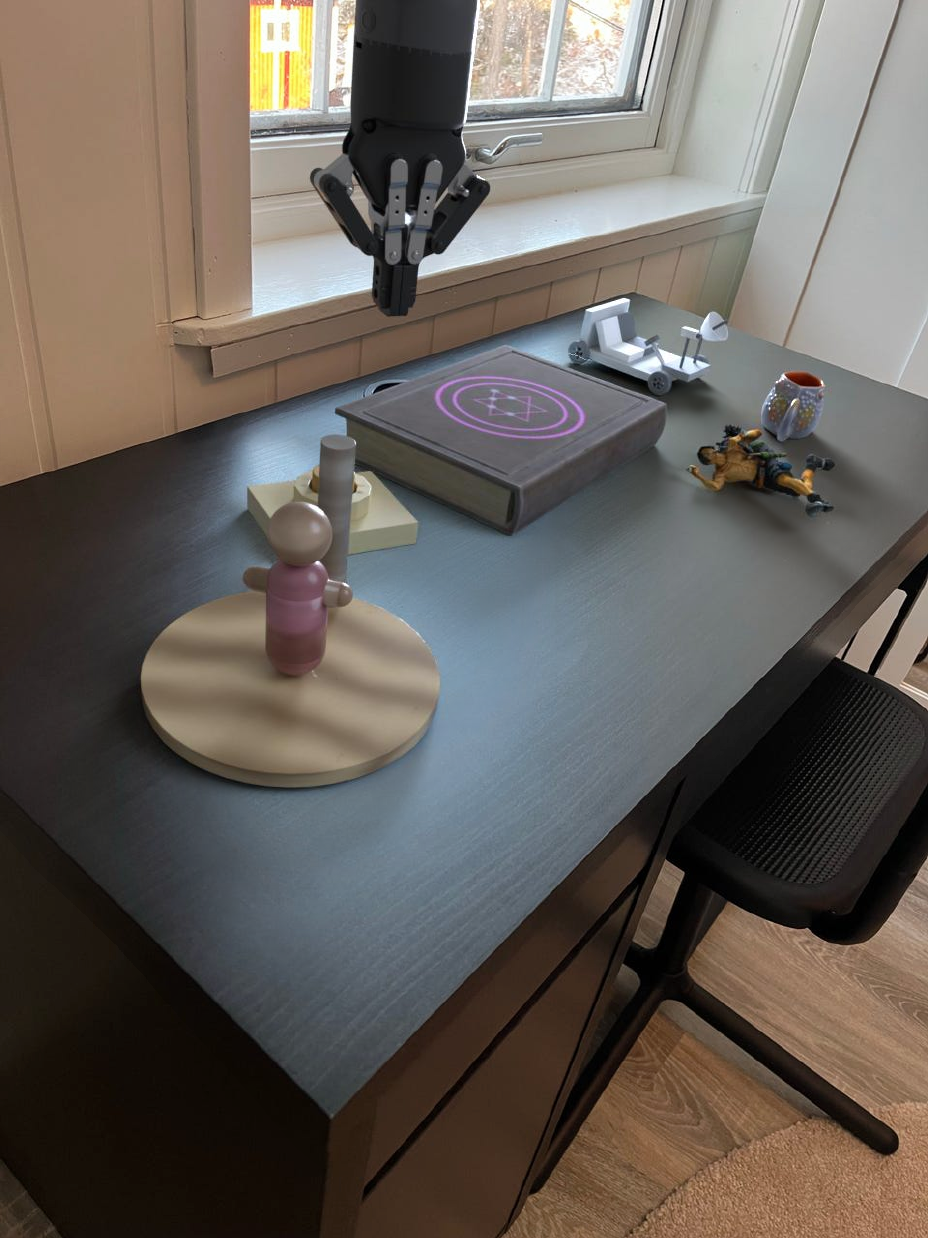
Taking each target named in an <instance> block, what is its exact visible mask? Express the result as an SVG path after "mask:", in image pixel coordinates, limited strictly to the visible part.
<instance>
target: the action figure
mask: <svg viewBox="0 0 928 1238" xmlns="http://www.w3.org/2000/svg"><path fill="white" fill-rule="evenodd" d="M722 431H723V432H724V433H725V435H724V436H722V439H723V440H722V441H721V442H720V441H719V440H717V441H716V442H715V445H716V446H717V449H716V447H715V445H711V444H710V445H702V446H700V447H699V448H698V451H697V452H696V457H697V459H698V461H699V463H700V464H702V465H704V466H710V465H714V468H715V470H714V472H713V473H712V475H711V479H709V478H707V477H705V476H703V475H702V474H700V473H699V472H700V468H699V465H696V466H695V465H693V464H690V465H689V466H688V467H686V468H685V471H686V472H688V473H689V474H691V475H692V476H693V478H696V479H697V480H699V481H700V482H701V483H702V484H703V486H705V487H706V488H708V490H711V491H715V492H716V491H719V490H721V489H722V488H723V487H724V485H725V483H735V482H741V481H745V482H746V481H748V482H750V483H751V484H755V485H757V489H762V488H765V489H767V490H769V491H770V490H771V491H772V492H774V493H775V492H776V493H779V494H785V495H787V496H791V497H794V498H799V497H800V496H803V497H806V500H807V501H808V502H809V503H808V504H806V506H805V512H806V514H807V516H809V517H817V516H820V515H821V514H822V513H825V514H826V513H832V512H833V510H834V509H835V506H834V505H833V504H832V503H830V501H829V500H826V499H824V498H822V497H821V495H820V494H819V493H817V492H815V491H814V490H812V489H813V481H814V480H813V479H814V474H815V473H816V471H817V469H818V470H821V471H822V470H823V471H825V472H830V471H832V469H834V468H835V467H836V463H835V461H834V460H833V459H831V458H828V457H820V456H819V455H817V454H815V453H810V454H808V455H807V456H806V459H805V462H806V464H805V465H804V470H803V472H802V473H801V476H800V477H794V474H793V473H792V472H791V470H792V469H793V465H792V464H791V463H789V462H788V461H782V460H781V461H779V459H780V458H785V457H787V456H788V453H787V452H774V449H773V447H772V446H770V445H769V444H768V443H766V442H765V441H761V440H758V439H759V438H760V437H762V435H763V433H762V430H760V429H751V430H748V431H746V430H745V429H742V427H740V426H737V427H736V425H732V424H731V423H729V424H726V425H724V430H722ZM778 458H779V459H778Z"/></svg>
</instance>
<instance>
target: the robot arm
mask: <svg viewBox="0 0 928 1238" xmlns="http://www.w3.org/2000/svg"><path fill="white" fill-rule="evenodd" d="M354 6H355V7H354V8H355V9H354V24H353V25H354V30H353V45H352V64H351V65H352V66H351V82H350V83H351V84H350V85H351V86H350V101H349V102H350V104H349V108H350V109H349V110H350V111H349V112H350V124H349V128H348V131H347V132H346V135H345V137H344V138H343V140H342V145H341V152H342V154H340V155H339V156H338V157H337V158H336V159H334V160H333V161H332V162H331V163H330V164H328V165H327V166H326V167H325V168H322V167H315V168H313V170H311V172H310V175H309V181H310V183H311V185H312V186H313V188H314V190H315V192H316V193H317V194H318V196H319V197H320V199H321V201H322V202H323V204H324V205H325V207H326V208H327V210H328V211H329V213H330V214H331V216H332V218H333V219H334V220H335V222H336V224H337V226H339V228H340V230H341V231H342V233H343V234H344V236H345V237H346V239H347V240H348V242H349V243H350V245H352V246H353V247H355V248H357V249H358V250H360V251H361V252H362V254H364V255H365V256H368V257H372V258H373V269H372V281H371V282H372V283H371V287H372V288H371V298H372V302H373V303H374V304H375V305H376V306H377V308H378V311H380V312H381V313H382V314H383V315H385V316H386V317H388V318H390V317H407V316H408V314H409V309H412V308H413V307H414V304H415V302H416V297H417V286H418V277H419V267H420V264H421V262H422V260H424V259H425V258H427V257H429V256H431V255H434V254H435V255H442V254H443V253H445V251H446V250H447V249H448V248H449V246H450V245H451V243H452V242H453V241H454V240H455V239H456V237H457V236H458V234H459V233H460V232H461V231H462V229H463V228H464V227H465V225H466V224H467V223H468V222H469V220H470V219H471V218H472V217H473V215H474V214H475V213H476V211H477V210H478V209H479V208H480V207H481V205H482V204H483V202H484V201H485V200H486V198H487V197H488V196H489V194H490V192H491V184H490V182H489V181H488V180H486V179H485V178H482V177H480V176H478V175H477V174H476V173H475V172H474V171H473V169H472V168H470V166H469V165H468V164H467V163H466V162H465V161H466V158H467V151H466V147H465V144H464V141H463V129H464V126H465V124H466V121H467V117H468V116H467V115H468V114H467V113H468V108H469V107H468V106H469V99H470V91H471V81H472V71H473V62H474V55H475V48H476V47H475V46H476V39H477V35H478V20H479V19H478V18H479V11H480V0H355V5H354ZM352 177H354V178H355V180H356V182H357V184H358V186H359V187H360V189H361V191H362V193H363V194H364V196H365V198H366V200H367V201H368V202H367V203H368V204H367V209H368V210H367V211H368V218H369V220H370V227H369V225H368V224H367V223H366V221H365V219H364V218H363V216H362V214H361V212H360V211H359V210H358V208H357V206H356V205H355V203H354V202H353V200H352V198H351V196H352V195H353V193H354V191H355V186H354V185H355V184H354V183H353V180H352ZM446 190H447V193H446V194H445V196H444V197H442V196H443V195H444V193H445V191H446ZM441 197H442V199H441ZM440 199H441V201H440V202H439V203H438V201H439V200H440ZM437 203H438V205H437V206H436V204H437Z"/></svg>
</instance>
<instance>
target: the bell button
mask: <svg viewBox="0 0 928 1238" xmlns="http://www.w3.org/2000/svg"><path fill="white" fill-rule="evenodd" d="M312 470H313V475H312V490H313V492H315V493H317V494H318V485H319V464H317V465H315V466H314V467H313V468H312ZM355 473H356V472H355V471H354V479H353V492H354V481H355ZM352 494H353V493H352Z"/></svg>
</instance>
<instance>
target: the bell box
mask: <svg viewBox="0 0 928 1238" xmlns="http://www.w3.org/2000/svg"><path fill="white" fill-rule="evenodd" d="M312 475H313V469H311V470H307V471H306V472H304V473H302V474H299V475H298V476H297V477H296V479H295V480H288V481H279V482H278V481H277V482H271V483H262V484H256V485H255V484H254V485H248V486H246V504H247V505H246V509H247V510H248V512H249V513H250V514H251V516H252V517H253V519H254V520H255V521H256V523H257V524H258V526H259V527H260V529H261V531H262V532H263V534H264V535H265V536H266V537H267V527H268V523H269V521H270V519H271V517H272V515H273V514H274V513H275V512H276V511H277V510H278V509H279V508H280V507H282V506H283V505H285V504H288V503H291V502H307V503H310V504H313V505H315V506H318V494H317V493H315V492H313V490H312ZM418 529H419V521H418V520H417V519H416V518H415V517H414V516H413V515H412V514H411V512H409V510H408V508H406V507H405V506H404V505H403V504H402V502H400V501H399V499H397V497H396V496H395V495H394V494H393V493H392V492H391V491H390V490H389V489H388V488H387V487H386V485H385V484H384V483H383V482H382V481H381V480H380V479H379V478H378V476H376V475H375V474H374V472H372V471H370V470H367V471H358V472H355V481H354V492H353V494H352V507H351V521H350V535H349V550H348V556H350V555H355V554H360V553H367V552H373V551H380V550H385V549H390V548H391V549H392V548H396V547H397V548H398V547H403V546H408V545H414V544H417V538H418Z"/></svg>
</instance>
